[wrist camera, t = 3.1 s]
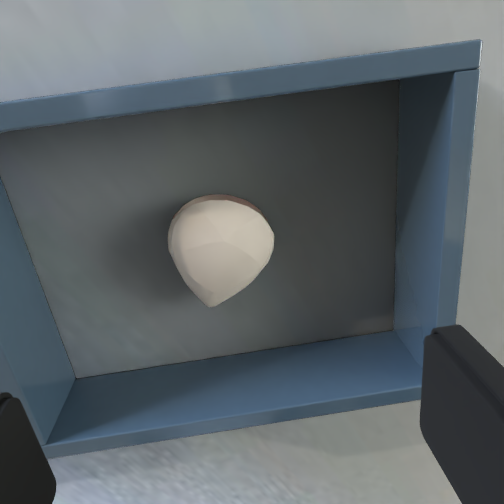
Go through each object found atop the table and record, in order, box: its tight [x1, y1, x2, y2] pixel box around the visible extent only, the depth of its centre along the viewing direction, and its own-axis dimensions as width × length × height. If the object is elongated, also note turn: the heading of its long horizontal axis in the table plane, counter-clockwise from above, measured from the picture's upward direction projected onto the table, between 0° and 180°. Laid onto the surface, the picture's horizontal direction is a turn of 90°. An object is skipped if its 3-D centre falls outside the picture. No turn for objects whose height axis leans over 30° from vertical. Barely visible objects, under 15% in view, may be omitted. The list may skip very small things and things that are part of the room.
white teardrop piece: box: [168, 194, 274, 307], centre depth 17 cm, size 4×5×2 cm
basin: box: [0, 39, 483, 459], centre depth 16 cm, size 14×18×4 cm
